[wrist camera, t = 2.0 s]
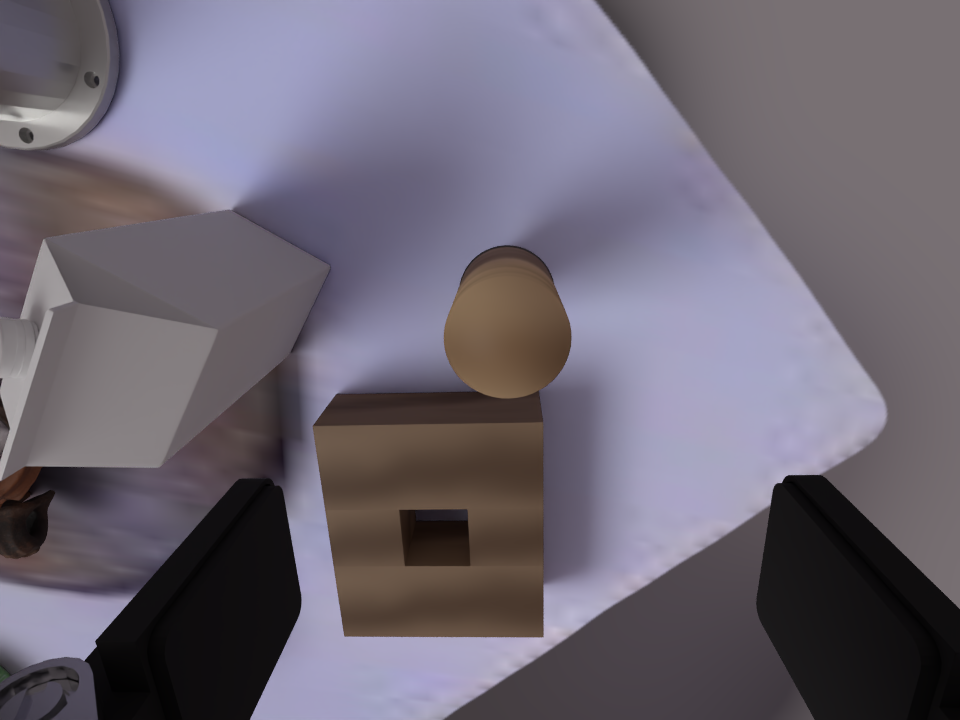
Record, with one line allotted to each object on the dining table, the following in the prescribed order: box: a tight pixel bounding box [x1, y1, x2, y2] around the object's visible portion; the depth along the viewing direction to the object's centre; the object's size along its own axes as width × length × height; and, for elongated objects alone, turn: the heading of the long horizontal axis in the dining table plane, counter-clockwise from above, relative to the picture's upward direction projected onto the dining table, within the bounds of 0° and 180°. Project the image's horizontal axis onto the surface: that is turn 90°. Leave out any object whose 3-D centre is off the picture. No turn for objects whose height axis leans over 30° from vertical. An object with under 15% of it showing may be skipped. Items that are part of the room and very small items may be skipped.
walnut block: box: [313, 391, 543, 637], centre depth 39 cm, size 16×14×5 cm
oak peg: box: [444, 245, 571, 399], centre depth 29 cm, size 5×5×14 cm
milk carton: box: [0, 210, 330, 481], centre depth 27 cm, size 7×7×19 cm
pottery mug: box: [0, 395, 55, 559], centre depth 39 cm, size 12×10×8 cm
